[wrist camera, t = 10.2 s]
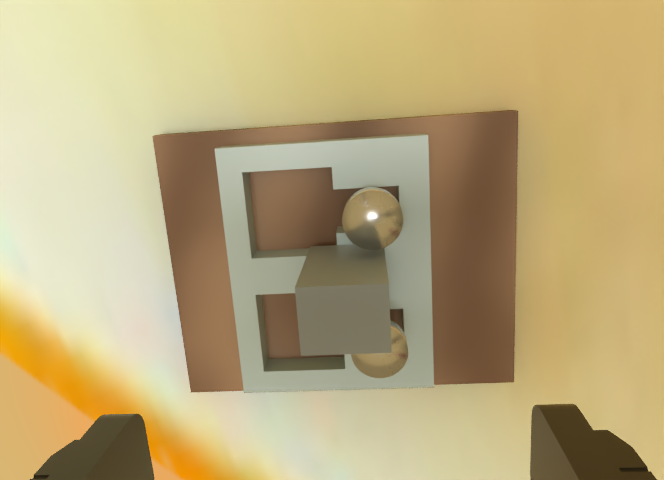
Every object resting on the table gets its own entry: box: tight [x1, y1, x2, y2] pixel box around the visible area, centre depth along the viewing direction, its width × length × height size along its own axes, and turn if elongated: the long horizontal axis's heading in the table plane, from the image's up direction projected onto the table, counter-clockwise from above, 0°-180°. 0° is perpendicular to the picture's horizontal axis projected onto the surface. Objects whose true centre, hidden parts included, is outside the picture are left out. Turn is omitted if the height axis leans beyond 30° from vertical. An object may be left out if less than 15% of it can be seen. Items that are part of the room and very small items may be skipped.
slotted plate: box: [215, 133, 434, 393], centre depth 20 cm, size 8×11×6 cm
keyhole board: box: [153, 110, 518, 392], centre depth 24 cm, size 15×12×1 cm
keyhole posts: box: [342, 187, 408, 378], centre depth 22 cm, size 2×7×3 cm, turn 4°
